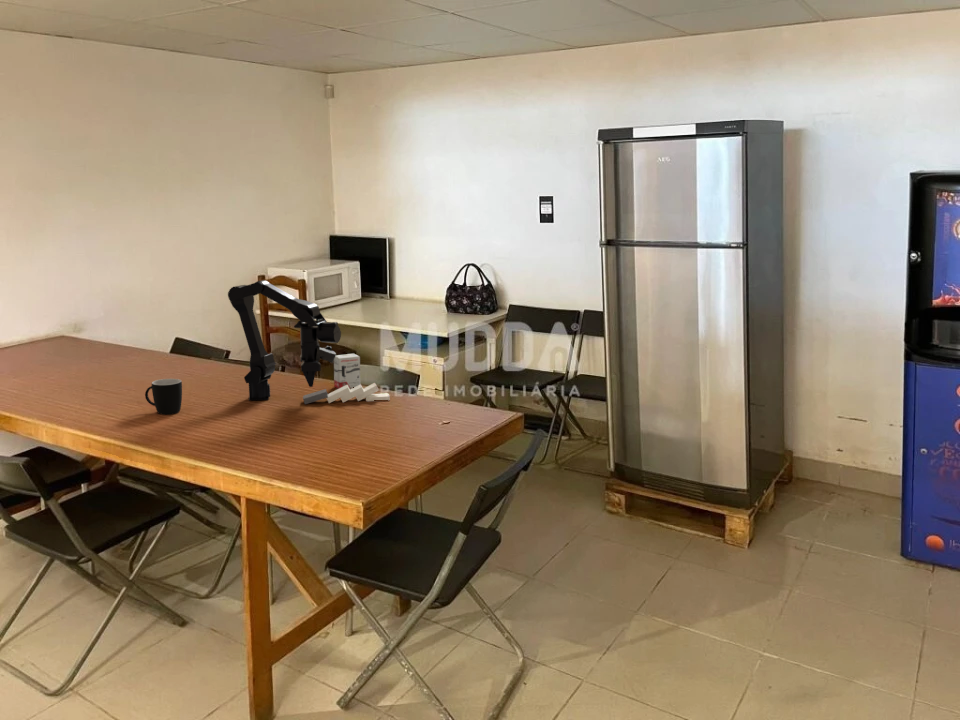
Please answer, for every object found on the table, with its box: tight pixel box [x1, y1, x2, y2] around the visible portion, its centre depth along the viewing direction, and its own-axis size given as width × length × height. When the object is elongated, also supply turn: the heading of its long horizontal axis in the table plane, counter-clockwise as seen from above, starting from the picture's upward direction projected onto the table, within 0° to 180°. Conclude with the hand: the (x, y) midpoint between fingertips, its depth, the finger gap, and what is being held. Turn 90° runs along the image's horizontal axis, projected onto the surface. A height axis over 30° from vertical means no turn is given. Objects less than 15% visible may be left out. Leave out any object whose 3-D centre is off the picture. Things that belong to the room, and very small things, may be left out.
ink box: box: [333, 353, 361, 389], centre depth 285 cm, size 8×5×12 cm, turn 124°
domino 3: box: [340, 383, 364, 403], centre depth 266 cm, size 2×4×8 cm
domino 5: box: [364, 392, 391, 402], centre depth 269 cm, size 2×4×8 cm
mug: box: [144, 378, 183, 416], centre depth 249 cm, size 12×9×10 cm
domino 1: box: [302, 388, 329, 405], centre depth 264 cm, size 2×4×8 cm
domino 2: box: [326, 385, 351, 404], centre depth 265 cm, size 2×4×8 cm
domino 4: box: [355, 382, 380, 402], centre depth 268 cm, size 2×4×8 cm
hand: (311, 386), depth 263 cm, fingers closed
